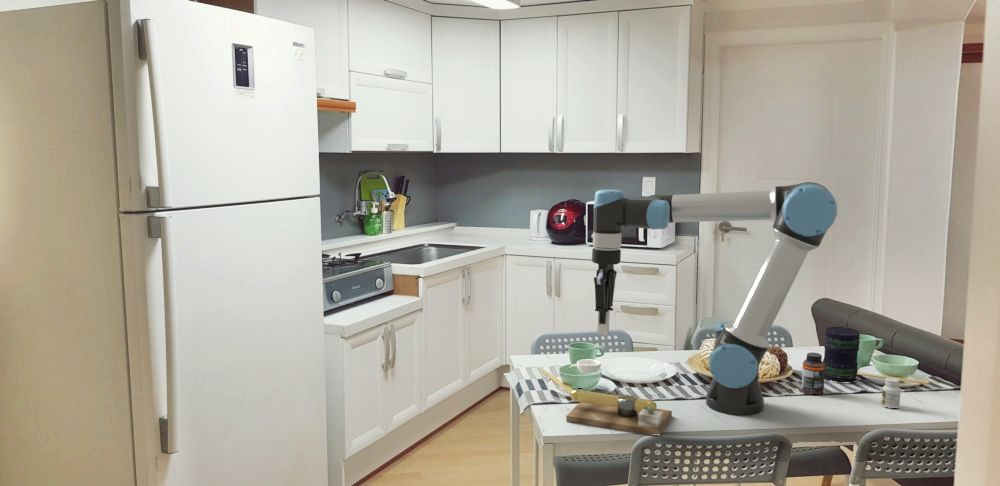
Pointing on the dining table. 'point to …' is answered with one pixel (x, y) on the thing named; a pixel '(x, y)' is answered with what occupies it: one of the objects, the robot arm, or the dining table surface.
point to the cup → (584, 363)
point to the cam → (614, 401)
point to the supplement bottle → (813, 374)
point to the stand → (620, 418)
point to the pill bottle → (891, 393)
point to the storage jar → (841, 354)
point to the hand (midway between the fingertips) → (603, 334)
